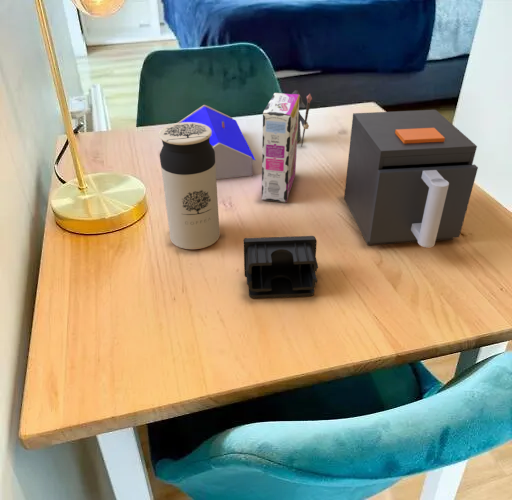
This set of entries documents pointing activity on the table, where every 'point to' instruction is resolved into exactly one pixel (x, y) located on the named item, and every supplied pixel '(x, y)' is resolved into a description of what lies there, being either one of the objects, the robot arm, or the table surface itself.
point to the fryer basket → (420, 202)
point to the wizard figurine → (300, 118)
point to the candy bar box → (279, 146)
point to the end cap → (280, 266)
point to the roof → (225, 142)
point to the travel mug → (190, 184)
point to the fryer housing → (397, 153)
